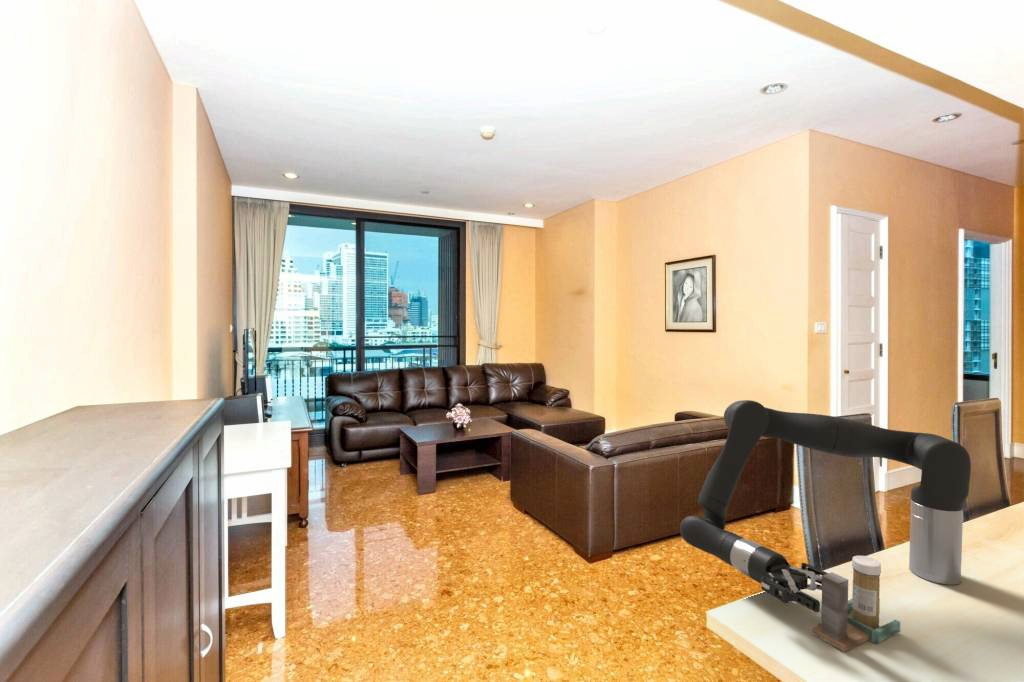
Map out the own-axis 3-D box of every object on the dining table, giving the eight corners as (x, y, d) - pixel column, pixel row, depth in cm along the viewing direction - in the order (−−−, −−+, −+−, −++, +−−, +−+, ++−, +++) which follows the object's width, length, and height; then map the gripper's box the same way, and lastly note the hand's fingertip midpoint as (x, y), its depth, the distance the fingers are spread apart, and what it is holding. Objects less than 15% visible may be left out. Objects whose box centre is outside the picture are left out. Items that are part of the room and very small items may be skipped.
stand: (852, 607, 100) (853, 552, 99) (899, 631, 92) (901, 571, 91) (805, 628, 93) (806, 569, 93) (851, 656, 86) (853, 592, 85)
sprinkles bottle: (883, 627, 94) (884, 561, 93) (873, 636, 91) (875, 568, 91) (856, 615, 98) (858, 552, 97) (846, 623, 95) (848, 558, 95)
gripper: (735, 552, 102) (809, 591, 87) (779, 539, 108) (856, 573, 93) (735, 586, 102) (808, 631, 87) (779, 571, 108) (855, 610, 93)
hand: (833, 601), depth 90 cm, fingers open, 8 cm apart
